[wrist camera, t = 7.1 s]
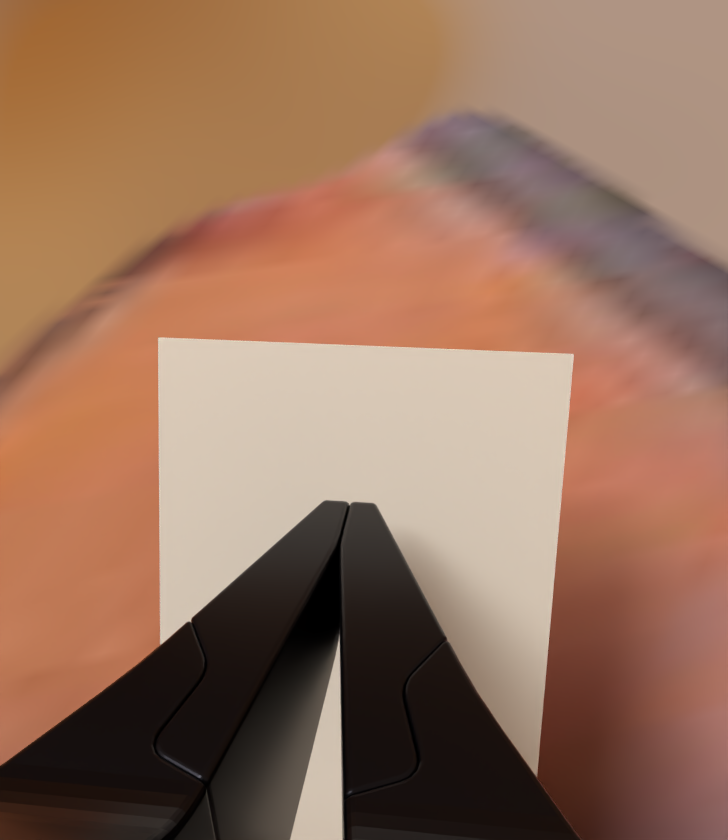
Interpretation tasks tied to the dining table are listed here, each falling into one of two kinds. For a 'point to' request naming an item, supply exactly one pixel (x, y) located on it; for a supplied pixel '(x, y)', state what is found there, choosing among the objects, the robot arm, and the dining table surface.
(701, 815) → the dining table surface
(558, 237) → the dining table surface
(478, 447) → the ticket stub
